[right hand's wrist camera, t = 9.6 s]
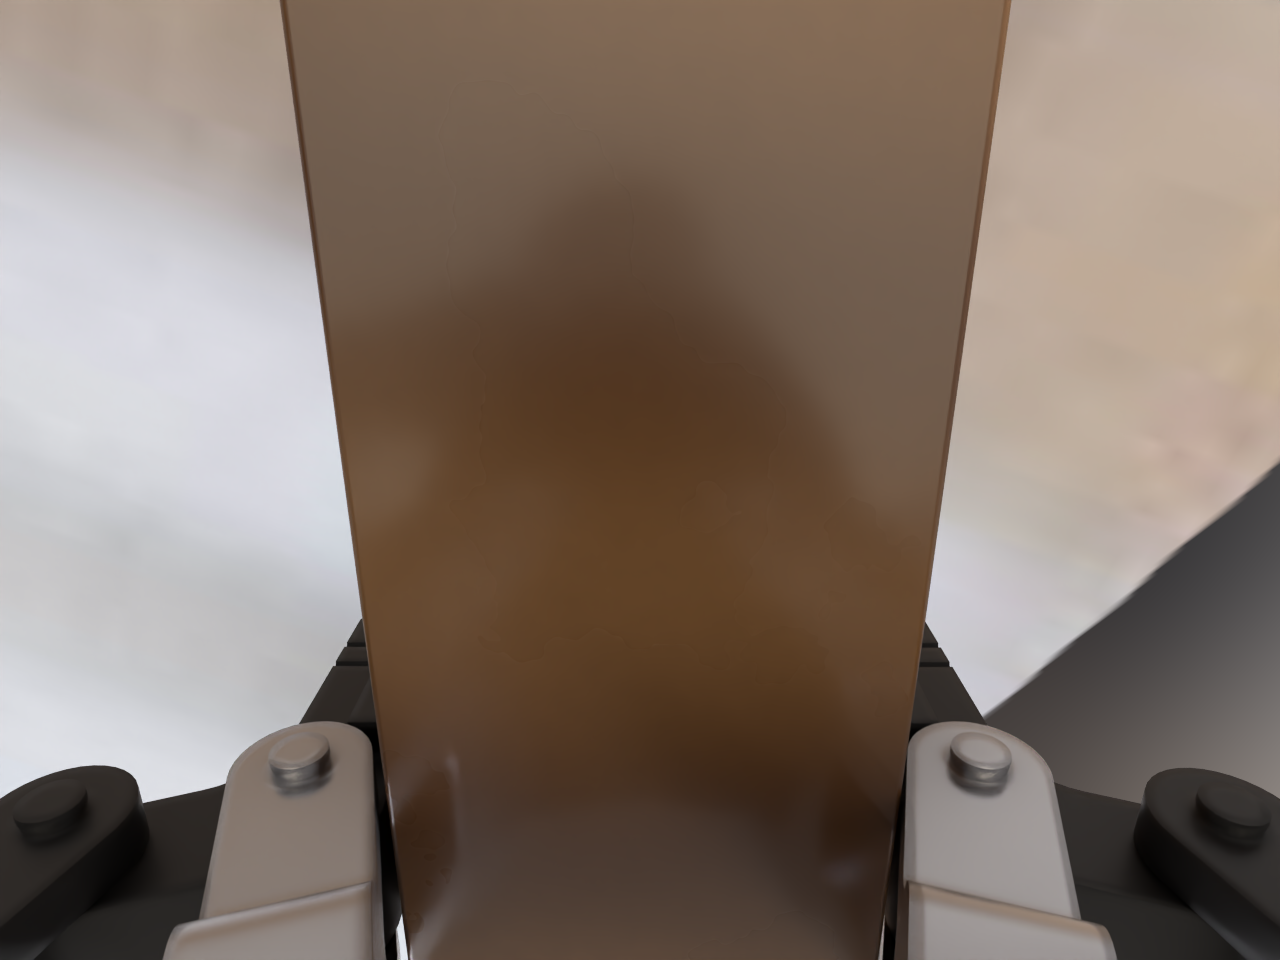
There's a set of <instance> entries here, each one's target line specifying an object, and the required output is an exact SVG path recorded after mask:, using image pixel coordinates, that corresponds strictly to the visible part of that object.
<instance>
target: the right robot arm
mask: <svg viewBox="0 0 1280 960" xmlns="http://www.w3.org/2000/svg"><path fill="white" fill-rule="evenodd" d="M401 914H402V909H401V902H400V895H399V887H398V880H397V872H396V865H395V857H394V850H393V842H392V835H391V827H390V820H389V812H388V805H387V798H386V790H385V783H384V775H383V768H382V760H381V753H380V745H379V738H378V730H377V723H376V715H375V708H374V701H373V693H372V686H371V678H370V671H369V663H368V656H367V648H366V641H365V633H364V626H363V619H361V620H360V621H359V623H358V625H357V627H356V628H355V630H354V632H353V633H352V635H351V637H350V638H349V640H348V642H347V647H344V649H343V650H342V652H341V654H340V655H339V657H338V659H337V661H336V666H333V667H332V669H331V671H330V672H329V674H328V676H327V678H326V679H325V681H324V683H323V684H322V686H321V688H320V689H319V691H318V693H317V694H316V696H315V698H314V700H313V701H312V703H311V705H310V706H309V708H308V710H307V711H306V713H305V715H304V717H303V718H302V720H301V722H300V723H299V725H294V726H291V727H288V728H285V729H281V730H279V731H277V732H274V733H272V734H270V735H268V736H266V737H264V738H262V739H260V740H259V741H257V742H256V743H254V744H253V745H251V746H250V747H249V748H248V749H246V750H245V751H244V752H243V753H242V754H241V755H240V756H239V757H238V758H237V760H236V761H235V762H234V764H233V765H232V767H231V769H230V770H229V773H228V776H227V780H226V784H223V785H220V786H217V787H213V788H210V789H206V790H202V791H197V792H192V793H188V794H183V795H179V796H174V797H169V798H165V799H160V800H156V801H151V802H146V803H142V799H141V795H140V791H139V787H138V784H137V782H136V780H135V778H134V777H133V776H132V775H131V774H130V773H128V772H126V771H125V770H122V769H119V768H116V767H111V766H96V765H93V766H82V767H76V768H71V769H66V770H62V771H59V772H55V773H52V774H49V775H46V776H43V777H41V778H38V779H36V780H34V781H31V782H29V783H27V784H25V785H23V786H21V787H19V788H17V789H15V790H13V791H12V792H10V793H8V794H7V795H5V796H4V797H2V798H1V799H0V960H400V946H399V939H398V932H397V926H398V924H399V921H400V918H401ZM884 915H885V917H884V925H883V932H882V939H881V946H880V960H1280V799H1279V798H1277V797H1276V796H1274V795H1273V794H1271V793H1269V792H1267V791H1265V790H1264V789H1262V788H1260V787H1258V786H1255V785H1253V784H1251V783H1249V782H1247V781H1244V780H1241V779H1239V778H1236V777H1233V776H1230V775H1226V774H1223V773H1219V772H1215V771H1210V770H1205V769H1196V768H1175V769H1169V770H1165V771H1162V772H1159V773H1158V774H1156V775H1154V776H1153V777H1152V778H1151V779H1150V780H1149V781H1148V782H1147V785H1146V788H1145V791H1144V795H1143V798H1142V802H1141V804H1139V803H1134V802H1130V801H1125V800H1121V799H1116V798H1112V797H1107V796H1102V795H1098V794H1093V793H1089V792H1084V791H1080V790H1076V789H1072V788H1069V787H1066V786H1063V785H1060V784H1057V783H1055V782H1054V781H1053V776H1052V773H1051V770H1050V769H1049V767H1048V765H1047V764H1046V762H1045V761H1044V760H1043V758H1042V757H1041V756H1040V755H1039V754H1038V753H1037V752H1036V751H1035V750H1034V749H1032V748H1031V747H1030V746H1029V745H1027V744H1026V743H1024V742H1023V741H1021V740H1020V739H1018V738H1016V737H1014V736H1012V735H1010V734H1008V733H1006V732H1003V731H1001V730H999V729H995V728H992V727H989V726H987V724H986V723H985V721H984V719H983V717H982V716H981V714H980V712H979V711H978V709H977V707H976V706H975V704H974V702H973V701H972V699H971V697H970V696H969V694H968V692H967V691H966V689H965V687H964V686H963V684H962V682H961V681H960V679H959V677H958V676H957V674H956V672H955V671H954V669H953V667H950V666H949V661H948V659H947V657H946V656H945V654H944V652H943V651H942V649H941V648H938V642H937V641H936V639H935V637H934V636H933V634H932V632H931V631H930V629H929V627H928V626H927V624H926V622H925V625H924V633H923V640H922V647H921V654H920V661H919V669H918V676H917V683H916V690H915V697H914V705H913V712H912V719H911V726H910V733H909V740H908V748H907V755H906V762H905V769H904V776H903V784H902V791H901V798H900V805H899V812H898V820H897V827H896V834H895V841H894V848H893V855H892V863H891V870H890V877H889V884H888V891H887V899H886V906H885V913H884Z"/></svg>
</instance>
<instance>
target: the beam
mask: <svg viewBox="0 0 1280 960" xmlns="http://www.w3.org/2000/svg"><path fill="white" fill-rule="evenodd" d="M280 7H281V14H282V22H283V29H284V37H285V44H286V52H287V59H288V67H289V74H290V81H291V89H292V96H293V104H294V111H295V119H296V126H297V134H298V141H299V149H300V156H301V163H302V171H303V178H304V186H305V193H306V201H307V208H308V216H309V223H310V231H311V238H312V246H313V253H314V260H315V268H316V275H317V283H318V290H319V298H320V305H321V313H322V320H323V328H324V335H325V343H326V350H327V357H328V365H329V372H330V380H331V387H332V395H333V402H334V410H335V417H336V425H337V432H338V439H339V447H340V454H341V462H342V469H343V477H344V484H345V492H346V499H347V507H348V514H349V522H350V529H351V536H352V544H353V551H354V559H355V566H356V574H357V581H358V589H359V596H360V604H361V611H362V619H363V626H364V633H365V641H366V648H367V656H368V663H369V671H370V678H371V686H372V693H373V701H374V708H375V715H376V723H377V730H378V738H379V745H380V753H381V760H382V768H383V775H384V783H385V790H386V798H387V805H388V812H389V820H390V827H391V835H392V842H393V850H394V857H395V865H396V872H397V880H398V887H399V895H400V902H401V909H402V917H403V924H404V932H405V939H406V947H407V954H408V960H878V956H879V949H880V942H881V935H882V927H883V920H884V913H885V906H886V899H887V891H888V884H889V877H890V870H891V863H892V855H893V848H894V841H895V834H896V827H897V820H898V812H899V805H900V798H901V791H902V784H903V776H904V769H905V762H906V755H907V748H908V740H909V733H910V726H911V719H912V712H913V705H914V697H915V690H916V683H917V676H918V669H919V661H920V654H921V647H922V640H923V633H924V625H925V618H926V611H927V604H928V597H929V589H930V582H931V575H932V568H933V561H934V554H935V546H936V539H937V532H938V525H939V518H940V510H941V503H942V496H943V489H944V482H945V474H946V467H947V460H948V453H949V446H950V439H951V431H952V424H953V417H954V410H955V403H956V395H957V388H958V381H959V374H960V367H961V359H962V352H963V345H964V338H965V331H966V324H967V316H968V309H969V302H970V295H971V288H972V280H973V273H974V266H975V259H976V252H977V244H978V237H979V230H980V223H981V216H982V208H983V201H984V194H985V187H986V180H987V173H988V165H989V158H990V151H991V144H992V137H993V129H994V122H995V115H996V108H997V101H998V93H999V86H1000V79H1001V72H1002V65H1003V58H1004V50H1005V43H1006V36H1007V29H1008V22H1009V14H1010V7H1011V0H280Z"/></svg>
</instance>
